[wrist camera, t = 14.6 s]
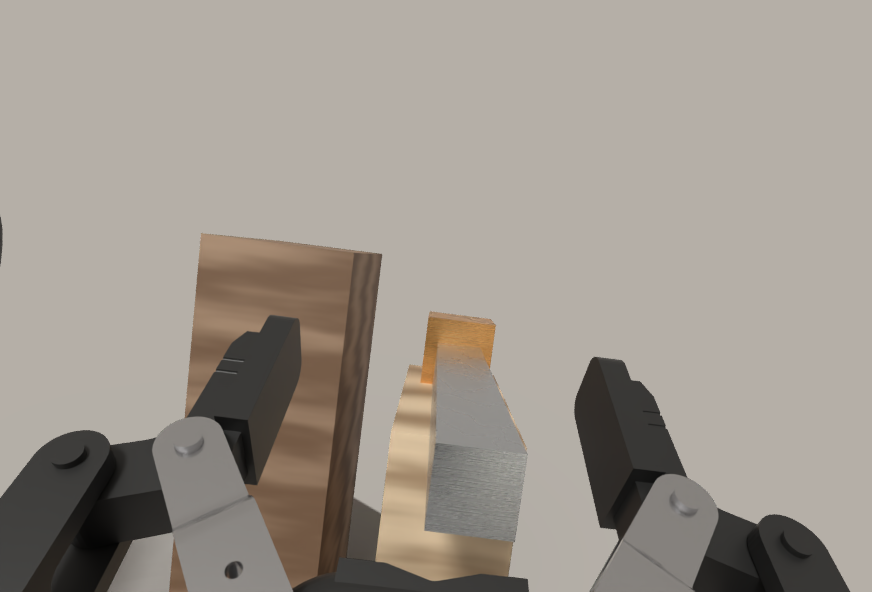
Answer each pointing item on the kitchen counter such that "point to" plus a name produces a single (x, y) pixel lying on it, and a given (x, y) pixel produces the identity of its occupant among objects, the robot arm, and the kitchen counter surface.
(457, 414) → the steel pin
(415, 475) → the beige slab
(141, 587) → the kitchen counter surface
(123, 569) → the kitchen counter surface
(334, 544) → the walnut stand
